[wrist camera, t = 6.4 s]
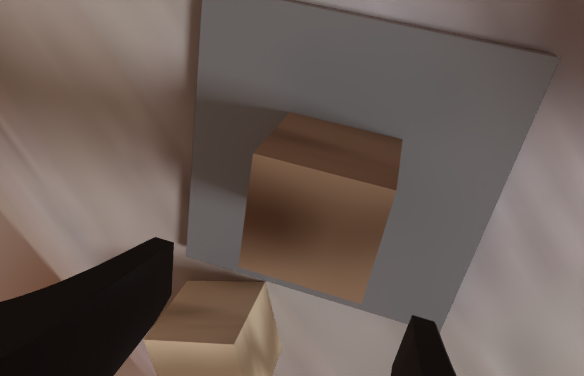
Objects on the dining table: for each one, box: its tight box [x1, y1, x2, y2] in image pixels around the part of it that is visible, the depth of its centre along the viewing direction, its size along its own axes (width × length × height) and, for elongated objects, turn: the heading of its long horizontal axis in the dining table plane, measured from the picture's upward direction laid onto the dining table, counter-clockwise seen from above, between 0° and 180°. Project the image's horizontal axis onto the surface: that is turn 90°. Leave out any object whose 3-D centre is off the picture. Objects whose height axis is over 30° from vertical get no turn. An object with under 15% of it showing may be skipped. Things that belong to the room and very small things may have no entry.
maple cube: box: [143, 281, 282, 376], centre depth 25 cm, size 5×5×5 cm
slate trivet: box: [186, 0, 560, 333], centre depth 21 cm, size 14×14×1 cm
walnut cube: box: [238, 112, 403, 304], centre depth 19 cm, size 5×5×5 cm
